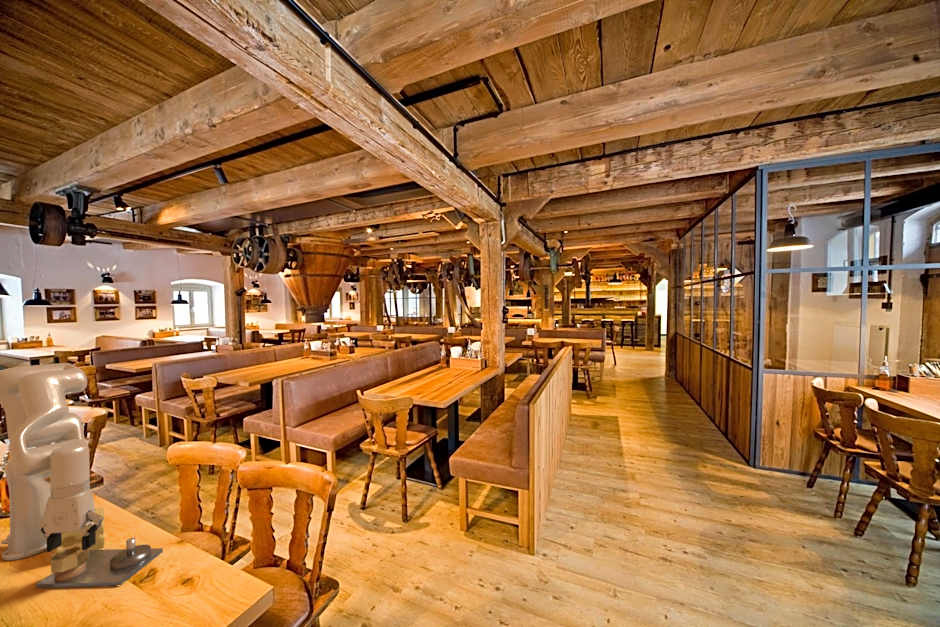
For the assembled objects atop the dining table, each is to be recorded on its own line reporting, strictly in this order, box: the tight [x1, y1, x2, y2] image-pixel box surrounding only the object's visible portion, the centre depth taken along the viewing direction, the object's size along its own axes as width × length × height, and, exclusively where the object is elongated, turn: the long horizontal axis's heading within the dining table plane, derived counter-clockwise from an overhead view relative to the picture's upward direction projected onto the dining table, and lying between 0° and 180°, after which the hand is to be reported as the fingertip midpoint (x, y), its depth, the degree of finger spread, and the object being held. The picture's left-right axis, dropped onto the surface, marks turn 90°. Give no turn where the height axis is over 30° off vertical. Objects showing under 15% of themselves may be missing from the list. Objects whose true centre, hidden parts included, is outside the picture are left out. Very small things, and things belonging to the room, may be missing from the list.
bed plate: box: [34, 547, 163, 590], centre depth 104 cm, size 23×14×1 cm, turn 92°
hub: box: [110, 537, 152, 570], centre depth 106 cm, size 9×9×7 cm
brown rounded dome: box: [55, 561, 86, 582], centre depth 100 cm, size 6×6×4 cm
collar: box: [50, 543, 89, 574], centre depth 100 cm, size 7×7×4 cm
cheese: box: [55, 506, 106, 553], centre depth 113 cm, size 10×11×10 cm
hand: (71, 548), depth 100 cm, fingers open, 9 cm apart
